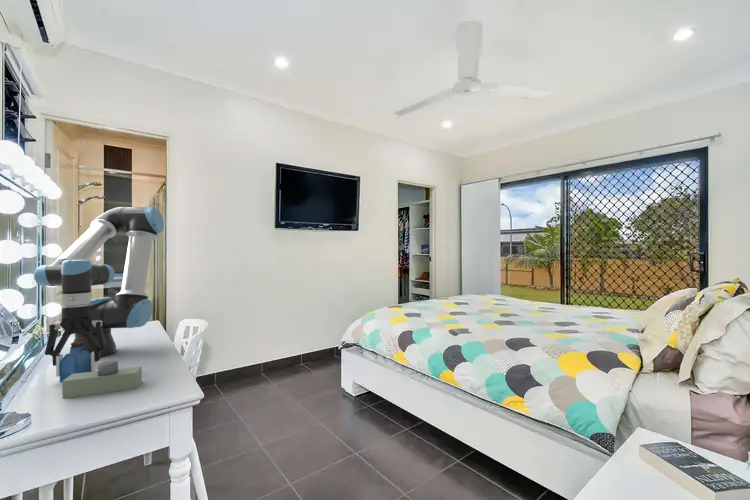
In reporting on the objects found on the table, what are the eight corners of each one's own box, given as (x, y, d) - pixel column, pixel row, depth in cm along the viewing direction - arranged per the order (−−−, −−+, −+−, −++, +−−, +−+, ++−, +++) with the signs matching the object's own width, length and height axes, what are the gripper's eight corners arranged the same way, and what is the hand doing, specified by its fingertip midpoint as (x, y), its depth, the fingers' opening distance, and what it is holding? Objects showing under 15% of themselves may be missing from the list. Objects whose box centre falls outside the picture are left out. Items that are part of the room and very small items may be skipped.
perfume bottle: (74, 382, 111) (74, 345, 111) (59, 381, 112) (59, 344, 112) (94, 375, 117) (93, 340, 117) (79, 374, 118) (79, 340, 118)
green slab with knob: (84, 380, 113) (84, 356, 113) (148, 372, 119) (148, 350, 120) (62, 398, 99) (62, 370, 99) (136, 388, 106) (135, 362, 106)
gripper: (29, 309, 107) (29, 381, 107) (111, 305, 115) (111, 372, 115) (42, 306, 114) (42, 373, 114) (118, 302, 122) (119, 365, 122)
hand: (77, 372), depth 115 cm, fingers closed on perfume bottle, 9 cm apart
